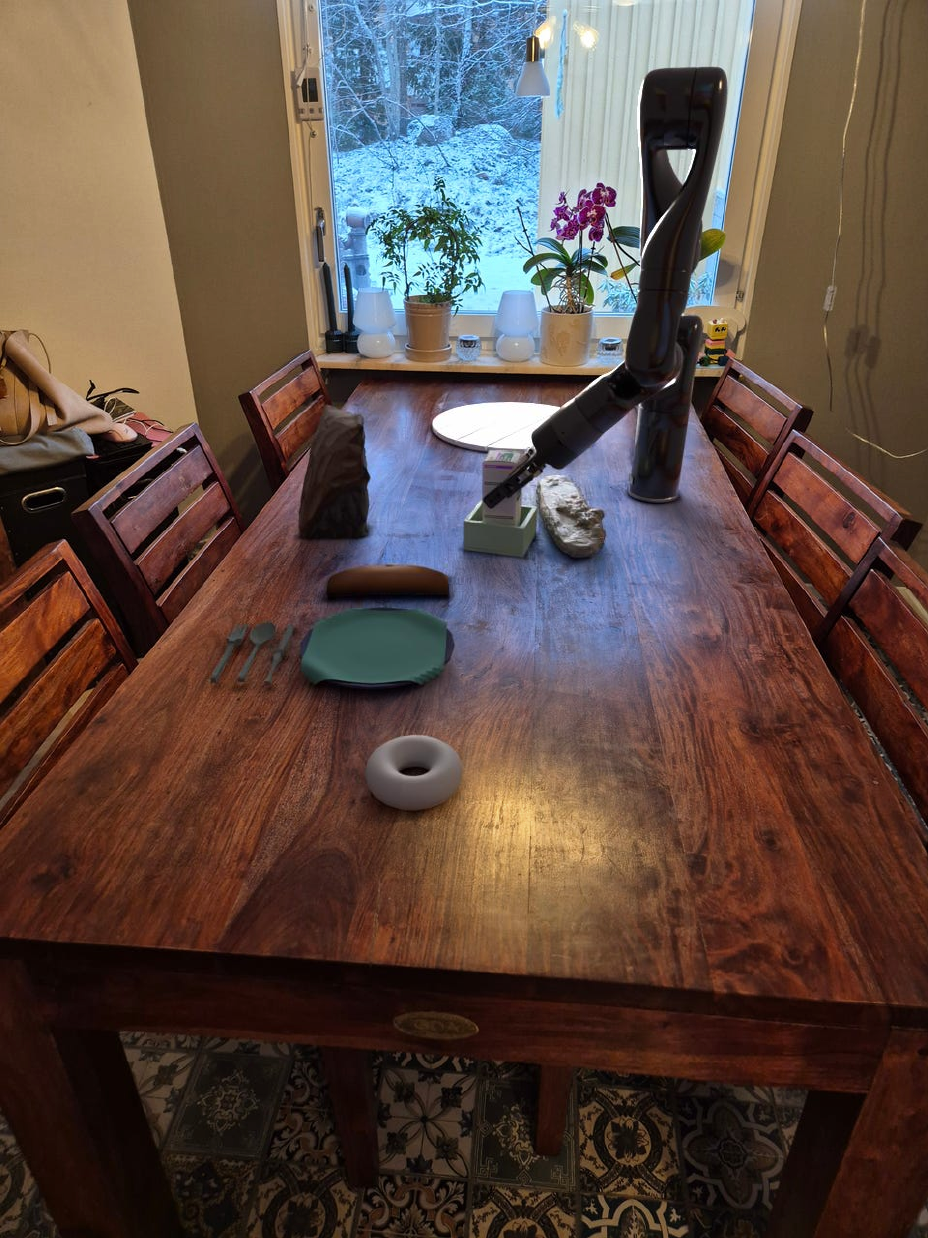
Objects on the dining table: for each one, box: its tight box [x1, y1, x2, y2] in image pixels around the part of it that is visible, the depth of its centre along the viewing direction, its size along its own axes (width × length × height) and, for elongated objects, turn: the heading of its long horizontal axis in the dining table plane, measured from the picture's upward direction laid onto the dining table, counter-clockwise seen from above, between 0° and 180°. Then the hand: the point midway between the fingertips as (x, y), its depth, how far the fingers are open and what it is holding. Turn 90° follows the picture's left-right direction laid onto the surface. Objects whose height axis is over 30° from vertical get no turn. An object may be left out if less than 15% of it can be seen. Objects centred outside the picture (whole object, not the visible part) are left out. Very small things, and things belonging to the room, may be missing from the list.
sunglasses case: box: [326, 563, 451, 599], centre depth 121 cm, size 18×7×7 cm
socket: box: [462, 499, 538, 559], centre depth 137 cm, size 10×10×5 cm
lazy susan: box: [432, 402, 561, 455], centre depth 195 cm, size 40×39×3 cm
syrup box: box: [481, 450, 523, 526], centre depth 134 cm, size 6×6×14 cm
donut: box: [364, 734, 464, 811], centre depth 83 cm, size 10×4×10 cm
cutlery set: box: [209, 606, 456, 690], centre depth 105 cm, size 20×30×2 cm, turn 89°
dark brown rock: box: [297, 404, 372, 539], centre depth 138 cm, size 13×13×20 cm
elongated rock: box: [535, 473, 607, 558], centre depth 145 cm, size 35×5×10 cm
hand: (492, 496), depth 134 cm, fingers closed on syrup box, 6 cm apart
